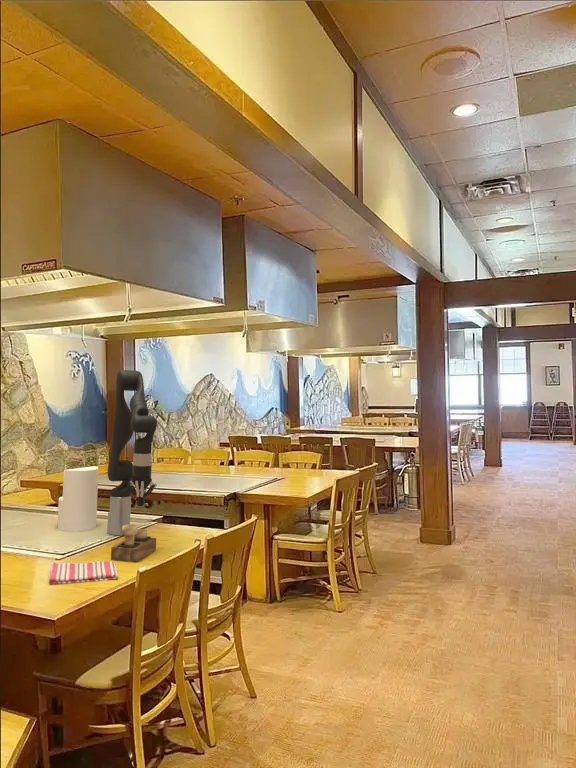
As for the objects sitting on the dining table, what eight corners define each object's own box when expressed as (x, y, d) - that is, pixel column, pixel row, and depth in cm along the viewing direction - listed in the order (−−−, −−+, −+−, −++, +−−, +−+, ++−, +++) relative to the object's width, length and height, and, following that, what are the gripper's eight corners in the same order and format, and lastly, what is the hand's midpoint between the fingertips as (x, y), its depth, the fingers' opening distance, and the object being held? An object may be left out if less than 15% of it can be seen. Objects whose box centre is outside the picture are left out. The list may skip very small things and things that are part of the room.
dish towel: (49, 571, 221) (49, 561, 221) (115, 566, 229) (115, 557, 229) (48, 586, 205) (48, 576, 205) (119, 581, 213) (119, 571, 213)
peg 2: (130, 552, 246) (130, 531, 246) (136, 548, 252) (136, 528, 252) (142, 553, 245) (143, 532, 245) (148, 550, 251) (149, 529, 251)
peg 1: (119, 549, 236) (119, 527, 236) (125, 545, 242) (126, 524, 242) (132, 550, 235) (133, 528, 235) (138, 546, 241) (139, 525, 241)
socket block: (110, 559, 236) (111, 545, 236) (131, 547, 253) (131, 534, 253) (137, 562, 234) (137, 548, 234) (155, 549, 251) (156, 536, 251)
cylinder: (104, 526, 287) (106, 468, 286) (73, 533, 272) (75, 472, 272) (80, 521, 296) (82, 464, 296) (49, 527, 281) (51, 467, 281)
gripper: (123, 464, 245) (121, 506, 245) (153, 466, 243) (152, 509, 243) (131, 461, 253) (129, 503, 253) (160, 463, 250) (159, 505, 250)
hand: (140, 505), depth 248 cm, fingers closed
